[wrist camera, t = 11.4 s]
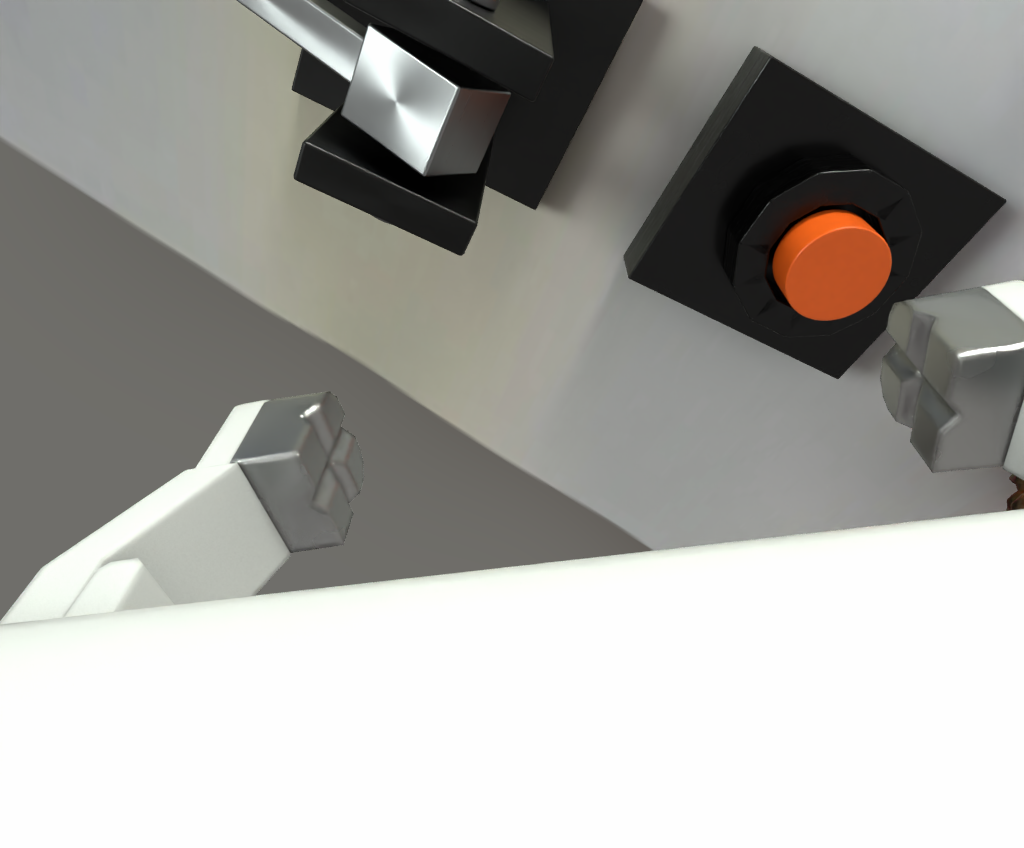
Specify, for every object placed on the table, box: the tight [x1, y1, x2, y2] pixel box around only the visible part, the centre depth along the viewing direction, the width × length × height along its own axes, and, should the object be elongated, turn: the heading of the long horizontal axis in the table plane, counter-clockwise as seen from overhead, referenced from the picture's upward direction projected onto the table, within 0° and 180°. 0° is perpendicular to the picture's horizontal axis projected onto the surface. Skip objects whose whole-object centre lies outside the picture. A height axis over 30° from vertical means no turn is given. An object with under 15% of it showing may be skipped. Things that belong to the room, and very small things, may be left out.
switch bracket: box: [292, 0, 643, 256], centre depth 20 cm, size 10×8×12 cm
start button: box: [772, 210, 892, 321], centre depth 24 cm, size 4×4×2 cm
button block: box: [624, 46, 1006, 379], centre depth 26 cm, size 11×9×4 cm
